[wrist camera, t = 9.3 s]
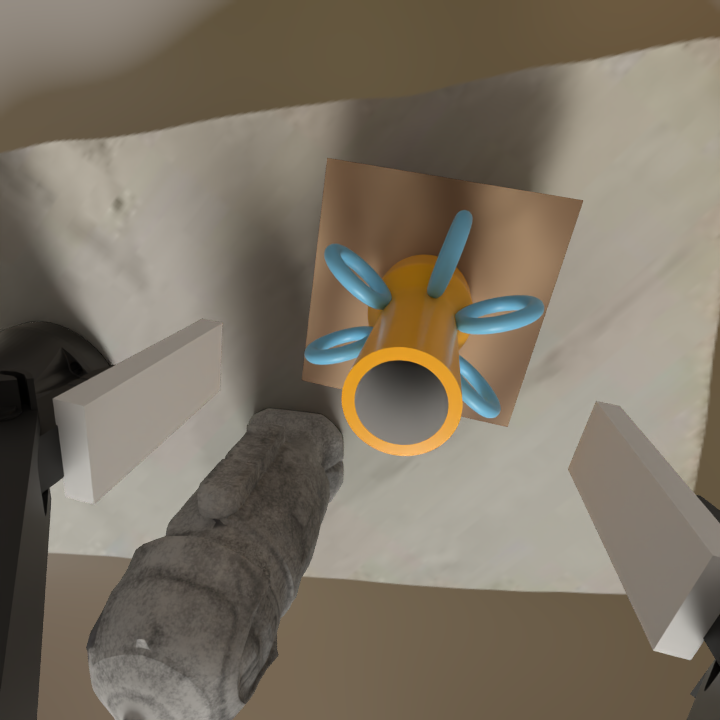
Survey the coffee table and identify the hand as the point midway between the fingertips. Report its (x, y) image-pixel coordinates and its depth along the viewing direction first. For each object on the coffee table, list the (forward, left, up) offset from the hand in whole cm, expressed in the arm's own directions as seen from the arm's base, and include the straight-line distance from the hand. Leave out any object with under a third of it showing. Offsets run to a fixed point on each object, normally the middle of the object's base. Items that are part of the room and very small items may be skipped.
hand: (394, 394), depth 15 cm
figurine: (-9, -20, -22) cm, 31 cm away
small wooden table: (0, 0, -22) cm, 22 cm away
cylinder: (0, 0, -14) cm, 14 cm away
